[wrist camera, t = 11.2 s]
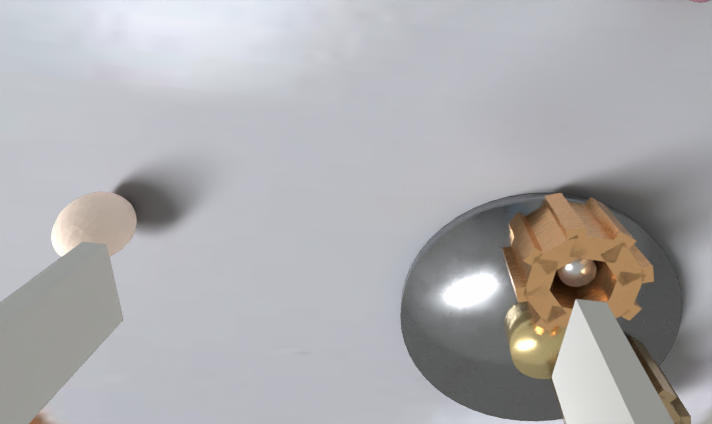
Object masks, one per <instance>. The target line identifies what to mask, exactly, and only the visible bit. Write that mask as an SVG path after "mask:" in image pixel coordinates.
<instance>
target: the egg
mask: <svg viewBox="0 0 712 424" xmlns="http://www.w3.org/2000/svg"><path fill="white" fill-rule="evenodd" d="M136 224H137V218H136V213H135V210H134V208H133V206H132V205H131V204H130V203H129V202H128V201H127V200H126V199H125V198H123V197H122V196H120V195H117V194H114V193H110V192H94V193H90V194H86V195H84V196H81V197H79V198H77V199H76V200H74V201H73V202H71V203H70V204H69V205H68V206H66V207H65V208H64V209H63V210H62V211H61V213H60V214H59V216H58V218H57V220H56V222H55V224H54V226H53V230H52V235H51V239H52V244H53V247H54V249H55V250H56V252H57V253H58V254H59V255H60V256H64V255H65V254H66V253H68V252H69V251H70V250H72V249H73V248H74V247H76V246H77V245H78V244H80V243H81V242H90V243H99V244H107V248H108V252H109V257H110V256H112V255H114V254H116V253H117V252H119V251H120V250H121V249H123V248H124V247H125V246H126V245H127V244H128V243H129V242H130V240H131V239H132V237H133V235H134V232H135V230H136Z"/></svg>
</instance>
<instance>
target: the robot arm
mask: <svg viewBox="0 0 712 424" xmlns="http://www.w3.org/2000/svg"><path fill="white" fill-rule="evenodd" d="M122 321H123V316H122V311H121V307H120V302H119V298H118V293H117V289H116V284H115V280H114V275H113V270H112V266H111V261H110V257H109V252H108V248H107V244H99V243H90V242H81V243H80V244H78V245H77V246H76V247H74V248H73V249H72V250H70V251H69V252H68V253H66V254H65V255H64V256H62V257H61V258H60V259H58V260H57V261H55V262H54V263H53V264H51V265H50V266H49V267H47V268H46V269H45V270H43V271H42V272H41V273H39V274H38V275H37V276H35V277H34V278H33V279H31V280H30V281H29V282H27V283H26V284H25V285H23V286H22V287H20V288H19V289H18V290H16V291H15V292H14V293H12V294H11V295H10V296H8V297H7V298H6V299H4V300H3V301H2V302H0V424H29V423H30V422H31V421H32V420H33V419H34V417H35V416H36V415H37V414H38V413H39V412H40V411H41V410H42V409H43V408H44V406H45V405H46V404H47V403H48V402H49V401H50V400H51V399H52V398H53V397H54V395H55V394H56V393H57V392H58V391H59V390H60V389H61V388H62V387H63V386H64V384H65V383H66V382H67V381H68V380H69V379H70V378H71V377H72V376H73V375H74V373H75V372H76V371H77V370H78V369H79V368H80V367H81V366H82V365H83V364H84V362H85V361H86V360H87V359H88V358H89V357H90V356H91V355H92V354H93V353H94V352H95V350H96V349H97V348H98V347H99V346H100V345H101V344H102V343H103V342H104V341H105V339H106V338H107V337H108V336H109V335H110V334H111V333H112V332H113V331H114V330H115V328H116V327H117V326H118V325H119V324H120V323H121V322H122ZM552 380H553V383H554V386H555V389H556V393H557V396H558V399H559V402H560V405H561V408H562V412H563V415H564V418H565V421H566V424H674V422H673V420H672V418H671V416H670V415H669V413H668V411H667V409H666V407H665V406H664V404H663V402H662V400H661V399H660V397H659V395H658V393H657V391H656V390H655V388H654V386H653V384H652V383H651V381H650V379H649V377H648V375H647V374H646V372H645V370H644V368H643V367H642V365H641V363H640V361H639V359H638V358H637V356H636V354H635V352H634V351H633V349H632V347H631V345H630V343H629V342H628V340H627V338H626V336H625V334H624V333H623V331H622V329H621V327H620V326H619V324H618V322H617V320H616V318H615V317H614V315H613V313H612V311H611V310H610V308H609V306H608V304H607V302H598V301H590V300H581V299H576V300H575V303H574V307H573V310H572V313H571V316H570V319H569V323H568V326H567V329H566V332H565V335H564V339H563V342H562V345H561V348H560V351H559V355H558V358H557V361H556V364H555V368H554V371H553V374H552Z"/></svg>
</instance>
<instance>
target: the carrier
mask: <svg viewBox="0 0 712 424" xmlns="http://www.w3.org/2000/svg"><path fill="white" fill-rule="evenodd" d="M551 194H556V193H532V194H523V195H516V196H510V197H506V198H502V199H498V200H495V201H491V202H488V203H486V204H483V205H481V206H478V207H476V208H473V209H471V210H470V211H468V212H466V213H464V214H462V215H460V216H458V217H457V218H455V219H454V220H453V221H451V222H450V223H448V224H447V225H445V226H444V227H443V228H442V229H441V230H439V231H438V232H437V233H436V234H435V235H434V236H433V237H432V238H431V239H430V240H429V241H428V242H427V244H426V245H425V246H424V247H423V248H422V250H421V251H420V252H419V254H418V255H417V257H416V259H415V260H414V262H413V264H412V266H411V268H410V270H409V273H408V275H407V277H406V281H405V284H404V288H403V293H402V303H401V329H402V333H403V338H404V342H405V345H406V347H407V350H408V352H409V355H410V357H411V358H412V360H413V362H414V363H415V365H416V367H417V368H418V369H419V371H420V372H421V373H422V374H423V376H424V377H425V378H426V379H427V380H428V381H429V382H430V383H431V384H432V385H433V386H434V387H435V388H437V389H438V390H439V391H440V392H442V393H443V394H444V395H446V396H447V397H449V398H451V399H452V400H454V401H456V402H457V403H459V404H461V405H463V406H465V407H468V408H470V409H472V410H475V411H478V412H481V413H484V414H487V415H490V416H495V417H499V418H504V419H511V420H519V421H547V420H557V419H563V421H564V424H566V421H565V418H564V415H563V412H562V408H561V405H560V402H559V399H558V396H557V393H556V389H555V386H554V383H553V380H552V374H553V371H554V368H555V364H556V361H557V358H558V355H559V351H560V348H561V345H562V342H563V339H564V335H565V332H566V329H567V327H561V326H554V327H553V328H552V329H551V330H550V332H548V331H546V330H544V329H542V328H540V327H539V326H537V325H535V323H534V320H533V317H532V315H531V312H530V309H529V306H528V303H527V301H526V302H520V303H518V301H517V298H516V294H515V291H514V288H513V285H512V282H511V278H510V275H509V272H508V269H507V265H506V262H505V258H504V253H503V247H508V246H511V245H512V242H513V238H514V235H513V232H512V230H511V227H510V224H509V223H510V221H511V220H512V219H513V218H514V216H515V215H516V214H517V213H518V211H519V212H520V213H522V214H524V215H528V214H530V213H531V212H533V211H535V210H537V209H538V208H540V207H542V206H543V205H545V204H546V203H545V196H546V195H551ZM562 195H563V196H564V197H565V199H566V200H567V202H574V203H580V204H585V203H586V202H587V201H588V200H589V199H587V198H583V197H578V196H573V195H568V194H562ZM604 205H605V204H604ZM605 206H606V207H607V208H608V209H609V211H610V212H611V213H612V214H613V215H614V216H615V217H616V218H617V220H618V221H619V222H620V223H621V224H622V225H623V226H624V227H625V229H626V230H627V231H628V232H629V233H630V234H631V235H632V236H633V238H634V239H635V240H636V242H635V243H634V245H635V246H636V247H637V248H638V249H639V250H640V252H641V253H642V254H643V255H644V256H645V257H646V259H647V260H648V261H649V262H650V263H651V264H652V265H653V274H654V282H648V283H642V285H641V288H640V290H639V292H638V295H637V297H636V299H635V300H636V301H637V303H638V304H639V306H640V307H641V308H642V309H641V310H640V311H639V312H638V313H637V314H636V315H635V316H634V317H633V318H632V319H631V320H630V321H629V320H627V319H625V318H623V317H622V316H620V317H618V318H616V320H617V322H618V324H619V326H620V327H621V329H622V331H623V333H624V334H625V336H626V338H627V340H628V342H629V343H630V345H631V347H632V349H633V351H634V352H635V354H636V356H637V358H638V359H639V361H640V363H641V365H642V367H643V368H644V370H645V372H646V374H647V375H648V377H649V379H650V381H651V383H652V384H653V386H654V388H655V390H656V391H657V393H658V395H659V397H660V399H661V400H662V402H663V404H664V406H665V407H666V409H667V411H668V413H669V415H670V416H671V418H672V420H673V422H674V424H691V416H690V415H689V413H688V411H687V410H686V408H685V407H684V405H683V404H682V402H681V401H680V399H679V397H678V396H677V394H676V393H675V391H674V390H673V388H672V387H671V385H670V383H669V382H668V380H667V379H666V377H665V376H664V374H663V372H662V371H661V369H660V368H659V365H660V364H661V363H662V362H663V360H664V359H665V357H666V356H667V354H668V352H669V351H670V349H671V347H672V345H673V343H674V340H675V338H676V335H677V333H678V329H679V325H680V321H681V314H682V297H681V289H680V284H679V281H678V278H677V275H676V272H675V270H674V268H673V266H672V264H671V262H670V260H669V258H668V256H667V255H666V254H665V252H664V251H663V250H662V249H661V247H660V246H659V245H658V243H657V242H656V241H655V240H654V239H653V238H652V237H651V236H650V235H649V234H648V233H647V232H646V231H645V230H644V229H643V228H641V227H640V226H639V225H638V224H637V223H636V222H635V221H633V220H632V219H630V218H629V217H627V216H626V215H624V214H623V213H621V212H619V211H617V210H615V209H613V208H611V207H609V206H607V205H605ZM556 271H557V273H558V275H559V277H560V279H561V281H562V282H563V283H565V284H566V285H568V286H572V287H580V286H584V285H586V284H588V283H589V282H591V281H592V280H593V279H594V277H595V275H596V271H597V269H596V265H595V263H594V262H593V260H590V259H584V258H578V259H576V260H574V261H573V262H571V263H569V264H567V265H565V266H563V267H561V268H559V269H557V270H556Z"/></svg>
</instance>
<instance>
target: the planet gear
mask: <svg viewBox="0 0 712 424" xmlns="http://www.w3.org/2000/svg"><path fill="white" fill-rule="evenodd" d="M545 203H546V204H545V205H543V206H542V207H540V208H538V209H537V210H535V211H533V212H531V213H530V214H528V215H524V214H522V213H520V212H519V211H518V213H517V214H516V215H515V216H514V218H513V219H512V220H511V221H510V223H509V224H510V227H511V230H512V232H513V235H514V238H513V242H512V245H511V246H508V247H503V253H504V258H505V262H506V265H507V269H508V272H509V275H510V278H511V282H512V285H513V288H514V291H515V294H516V298H517V301H518V303H520V302H526V301H527V303H528V306H529V309H530V312H531V315H532V317H533V320H534V323H535V325H537V326H539V327H540V328H542V329H544V330H546V331H548V332H550V330H551V329H552V328H553V327H554V326H561V327H567V326H568V323H569V319H570V316H571V313H572V310H573V307H574V303H575V300H576V299H581V300H590V301H598V302H607V304H608V306H609V308H610V310H611V311H612V313H613V315H614V317H615V318H618V317H620V316H622V317H623V318H625V319H627V320H629V321H630V320H631V319H632V318H633V317H634V316H635V315H636V314H637V313H638V312H639V311H640V310H641V309H642V308H641V307H640V306H639V304H638V303H637V301H636V300H635V299H636V297H637V295H638V292H639V290H640V288H641V285H642V283H648V282H654V274H653V265H652V264H651V263H650V262H649V261H648V260H647V259H646V257H645V256H644V255H643V254H642V253H641V252H640V250H639V249H638V248H637V247H636V246H635V245H634V243H635V242H636V240H635V239H634V238H633V236H632V235H631V234H630V233H629V232H628V231H627V230H626V229H625V227H624V226H623V225H622V224H621V223H620V222H619V221H618V220H617V218H616V217H615V216H614V215H613V214H612V213H611V212H610V211H609V209H608V208H607V207H606V206H605V205H604V204H602V203H601V202H599V201H597V200H596V199H594V198H592V197H590V199H589V200H588V201H587V202H586V203H585V204H580V203H574V202H567V200H566V199H565V197H564V196H563V195H562V193H556V194H551V195H546V196H545ZM578 258H584V259H590V260H593V262H594V263H595V265H596V269H597V271H596V275H595V277H594V279H593V280H592V281H591V282H589V283H588V284H586V285H584V286H580V287H572V286H568V285H566V284H565V283H563V282H562V281H561V279H560V277H559V275H558V273H557V271H556V270H557V269H559V268H561V267H563V266H565V265H567V264H569V263H571V262H573V261H574V260H576V259H578Z"/></svg>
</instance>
